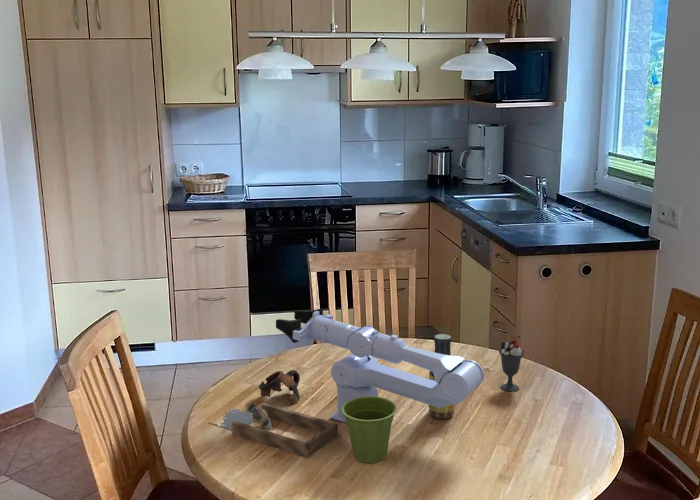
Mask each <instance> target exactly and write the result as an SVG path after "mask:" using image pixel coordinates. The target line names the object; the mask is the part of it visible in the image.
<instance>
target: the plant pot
mask: <svg viewBox="0 0 700 500" xmlns="http://www.w3.org/2000/svg"><path fill="white" fill-rule="evenodd" d="M397 409H398V406H397V404H396V403H395V402H393V400H391V399H388V398H385V397H380V396H378V397H374V396H366V397H359V398H354V399H352V400H349V401H347V402H346V403H345V404H344V405H343V406H342V409H341V410H342V413H343V414H344V415H345V419H346V425H347V429H348V433H349V439H350V444H351V448H352V449H351V450H352V454H353V457H354V458H355V460H356V461H358V462H361V463H364V462H365V463H368V464H376V463H379V462H381V461H383V460H385V458H386V456H387V455H388V449H389V441H390V435H391V431H392V429H391V428H392V424H393V422H394V415H395V414H396V413H397Z"/></svg>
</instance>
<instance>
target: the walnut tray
mask: <svg viewBox="0 0 700 500" xmlns="http://www.w3.org/2000/svg"><path fill="white" fill-rule="evenodd" d="M261 408H262V409H264V410H265V411H266V412H267V415H268V418H270V420H275V421H279V422H282V423H285V424H289V425H293V426H295V427H298V428H302V429H306V430H309V431H312V432H315V433H318V434H316V435H315V436H313V437H312V438H311V439H310V440H308V441H306V442H304V441H301V440H298V439H295V438H291V437H288V436H284V435H282V434H279V433H275V432H272V431H269V430H266V429H263V428H259V427H257V426H256V427H255V426H252V425H250V424H249V425H246V424H243V423H240V422H237V421H234V422H232V430H231V432H232V433H231V434H233V435H232V436H235V435H236V437H239V438H242V439H246V440H249V441H251V442H254V441H255V442H254V443H257V442H258V444H260V445H263V444H264V446H266V447H270V448H273V447H274V448H273V449H276V448H277V449H276V450H279V449H280V450H281V451H282V450H283V451H282V452H285V451H286V452H287V453H288V452H289V454H291V455H296V456H298V457H302V458H304V459H309V458H310V457H312V456H313V455H314V454H316V453H317V452H318V451H319V450H320V449H322V448H323V447H325V446H326V445H327V444H329V443H330V442H331V441H333V440H334V439H335V438H336V437H338V435H339V434H338V431H339V429H338V427H339V425H338V423H337V422H333V421H329V420H326V419H322V418H319V417H315V416H311V415H308V414H304V413H302V412H297V411H294V410H290V409H287V408H284V407H280V406H276V405H273V404H269V403H266V402H264V403H262V404H261Z"/></svg>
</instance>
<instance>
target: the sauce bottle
mask: <svg viewBox="0 0 700 500" xmlns="http://www.w3.org/2000/svg"><path fill="white" fill-rule="evenodd" d="M433 337H434V338H433V342H434V351H433V352H435V353H439V354H444V355H451V356H452V354H451V353H452V352H451V343H452V336H451V335H449V334H445V333H439V334H435V335H434V336H433ZM428 379H430V380H433V381H436V380H435V377H434V374H433V372H432V371H429V373H428ZM455 408H456V407H455V404H453V405H449V406H445V407H441V408H439V407H435V406H432V405H429V404H428V412H429V415H430V416H431V417H432V418H434V419H438V420H439V419H440V420H446V419H450V418H452V417H453V416H454V414H455Z"/></svg>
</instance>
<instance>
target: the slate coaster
mask: <svg viewBox="0 0 700 500" xmlns="http://www.w3.org/2000/svg"><path fill="white" fill-rule="evenodd" d="M233 408H234V407H232V408H231V409H233ZM235 409H236V410H235ZM230 411H231V410H230V409H229V413H228V412H227V411H225V412H224V413H225V414H227V415H225V416H224V415H223V416H224V417H225V418H226V419H225V418H224V417H223V418H224V419H222V420H224V422H223V423H222V422H221V423H222V424H223V425H224V426H223V425H222V424H221V423H220V424H221V426H222V427H224V428H223V429H225V428H227V429H226V430H229V429H230V430H229V431H232V422H234V421H237V422H240V423H243V424H246V425H248V424H249V425H250V424H252V423H254V422H255V421H254V420H253V417H252V415H253V413H252V412H251V413H250V412H248V411H244V410H241V409H237V408H234V410H232V411H231V412H230ZM235 411H236V412H235ZM237 411H238V412H237ZM240 411H241V412H240ZM226 412H227V413H226ZM233 412H234V413H233ZM216 425H217V424H216ZM216 425H215V426H216ZM225 425H226V426H225ZM222 427H221V428H222Z"/></svg>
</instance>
